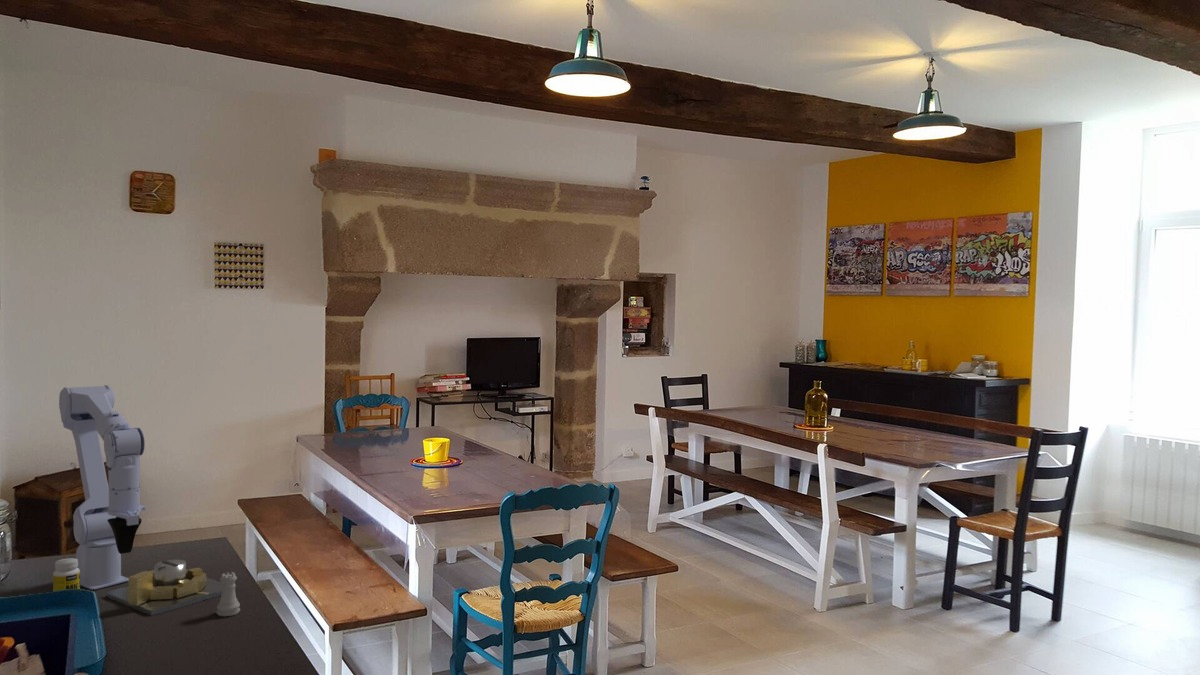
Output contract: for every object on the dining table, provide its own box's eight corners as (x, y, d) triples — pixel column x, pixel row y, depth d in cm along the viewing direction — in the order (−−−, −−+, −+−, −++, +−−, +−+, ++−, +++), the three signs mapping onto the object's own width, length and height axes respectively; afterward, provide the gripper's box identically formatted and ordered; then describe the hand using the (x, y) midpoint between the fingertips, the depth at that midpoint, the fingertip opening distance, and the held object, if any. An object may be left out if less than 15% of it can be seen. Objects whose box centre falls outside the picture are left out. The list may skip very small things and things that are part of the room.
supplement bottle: (67, 606, 177) (66, 565, 177) (47, 604, 178) (46, 563, 177) (85, 598, 182) (85, 558, 181) (66, 596, 183) (65, 556, 182)
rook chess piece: (245, 611, 176) (245, 572, 176) (227, 618, 172) (227, 578, 172) (229, 607, 178) (229, 569, 177) (211, 615, 174) (211, 575, 173)
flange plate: (105, 596, 183) (105, 565, 182) (187, 575, 198) (187, 546, 197) (151, 615, 173) (151, 582, 172) (234, 591, 187) (234, 561, 187)
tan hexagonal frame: (105, 594, 180) (105, 568, 180) (183, 574, 194) (183, 549, 194) (139, 608, 173) (139, 581, 173) (217, 586, 187) (217, 560, 186)
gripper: (154, 491, 177) (155, 557, 178) (137, 479, 188) (137, 541, 189) (115, 495, 173) (116, 563, 173) (100, 483, 184) (100, 546, 184)
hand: (124, 552), depth 181 cm, fingers closed
